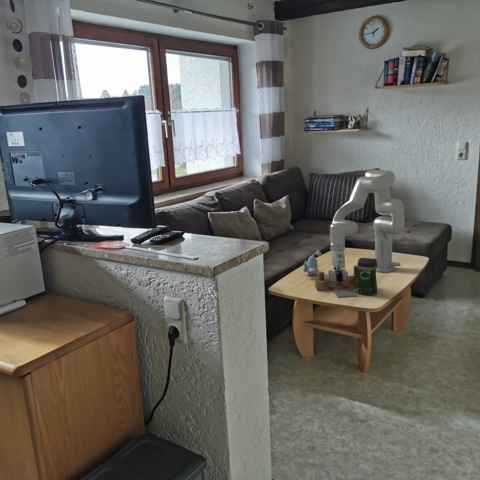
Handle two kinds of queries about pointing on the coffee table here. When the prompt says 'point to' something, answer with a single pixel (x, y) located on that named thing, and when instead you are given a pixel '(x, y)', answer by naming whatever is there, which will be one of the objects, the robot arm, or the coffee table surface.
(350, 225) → the robot arm
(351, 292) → the mat
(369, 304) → the coffee table surface
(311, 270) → the toy figure
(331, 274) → the lever cap
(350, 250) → the coffee table surface
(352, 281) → the brown long u-shaped block
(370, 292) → the coffee jar
